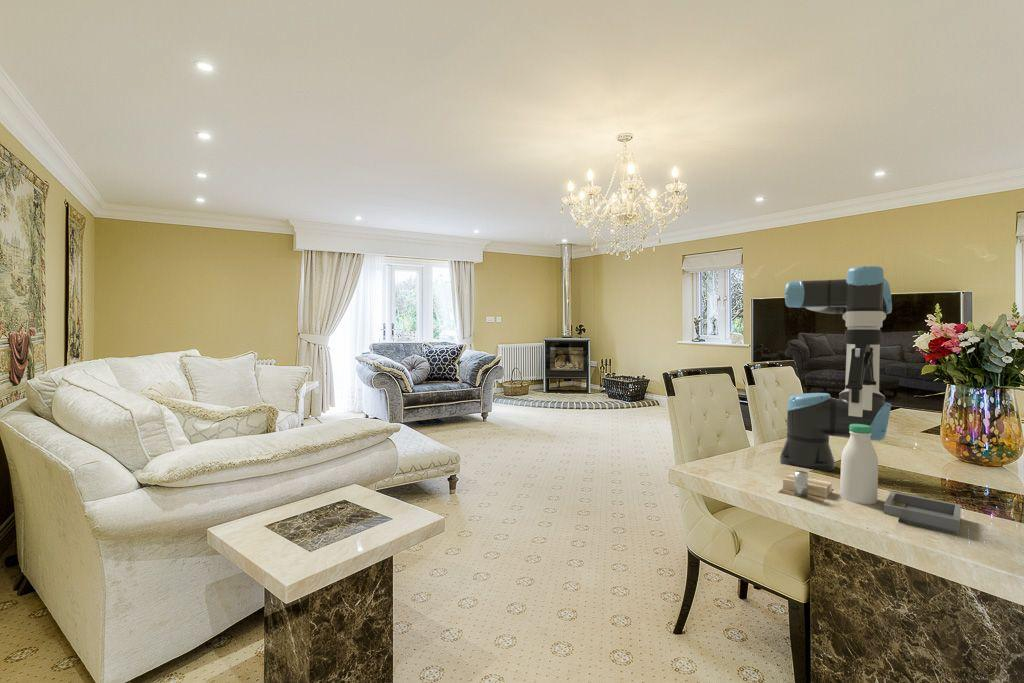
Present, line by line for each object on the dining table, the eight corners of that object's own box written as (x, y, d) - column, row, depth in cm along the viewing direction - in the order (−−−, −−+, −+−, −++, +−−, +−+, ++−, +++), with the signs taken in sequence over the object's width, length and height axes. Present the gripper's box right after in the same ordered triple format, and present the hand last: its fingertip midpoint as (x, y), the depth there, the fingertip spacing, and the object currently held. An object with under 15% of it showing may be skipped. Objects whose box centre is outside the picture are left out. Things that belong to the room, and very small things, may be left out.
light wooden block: (789, 483, 135) (789, 474, 135) (831, 492, 128) (831, 482, 128) (782, 488, 131) (783, 479, 131) (826, 497, 124) (826, 488, 124)
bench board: (791, 484, 137) (792, 480, 137) (833, 493, 130) (833, 489, 130) (777, 496, 128) (777, 492, 128) (821, 506, 121) (821, 502, 121)
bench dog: (795, 492, 127) (796, 470, 127) (808, 495, 125) (809, 472, 125) (792, 495, 125) (793, 472, 125) (805, 498, 123) (806, 475, 123)
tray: (890, 503, 123) (891, 491, 123) (960, 518, 114) (960, 504, 114) (883, 518, 114) (883, 504, 114) (958, 535, 105) (959, 520, 105)
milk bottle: (883, 510, 119) (886, 429, 118) (848, 507, 120) (850, 427, 120) (867, 499, 126) (869, 422, 126) (834, 496, 128) (836, 421, 127)
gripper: (854, 328, 133) (852, 405, 134) (834, 328, 116) (831, 417, 116) (889, 329, 128) (886, 409, 129) (873, 328, 110) (870, 421, 111)
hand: (860, 413), depth 122 cm, fingers open, 13 cm apart
